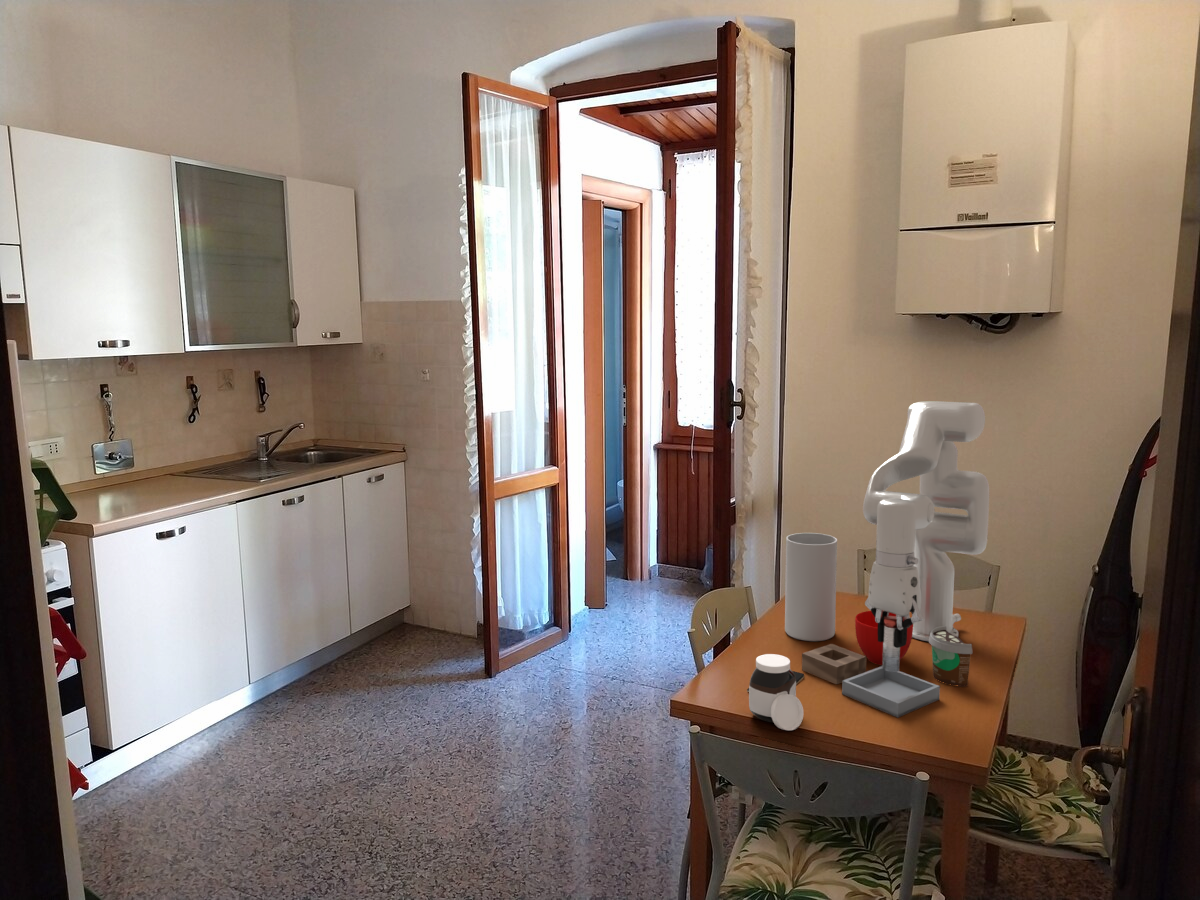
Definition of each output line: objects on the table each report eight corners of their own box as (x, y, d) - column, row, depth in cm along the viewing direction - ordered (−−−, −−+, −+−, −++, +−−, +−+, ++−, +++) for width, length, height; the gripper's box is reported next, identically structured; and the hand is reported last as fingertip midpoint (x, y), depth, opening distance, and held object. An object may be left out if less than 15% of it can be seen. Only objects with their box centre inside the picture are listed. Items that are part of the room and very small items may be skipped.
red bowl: (929, 655, 204) (930, 614, 203) (895, 675, 193) (897, 633, 191) (878, 641, 213) (879, 603, 212) (843, 660, 202) (844, 619, 200)
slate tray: (883, 678, 191) (883, 665, 191) (939, 699, 180) (939, 686, 180) (842, 694, 183) (842, 680, 183) (897, 717, 172) (898, 703, 172)
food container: (917, 668, 197) (919, 626, 195) (943, 666, 197) (945, 625, 196) (943, 690, 184) (945, 646, 183) (970, 689, 185) (972, 644, 183)
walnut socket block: (831, 659, 202) (831, 643, 202) (865, 673, 194) (866, 656, 193) (801, 670, 197) (802, 653, 196) (836, 684, 188) (836, 667, 188)
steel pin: (889, 664, 183) (890, 614, 181) (902, 669, 180) (904, 619, 179) (878, 668, 181) (880, 618, 180) (892, 673, 178) (894, 622, 177)
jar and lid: (767, 701, 181) (768, 648, 179) (817, 716, 174) (818, 661, 172) (738, 721, 172) (738, 666, 170) (789, 738, 164) (790, 680, 163)
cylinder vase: (784, 640, 215) (785, 543, 212) (785, 623, 227) (786, 531, 224) (835, 644, 212) (837, 545, 209) (834, 626, 224) (836, 533, 221)
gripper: (941, 564, 173) (937, 651, 175) (873, 547, 186) (870, 629, 189) (918, 570, 169) (915, 659, 171) (850, 553, 182) (848, 636, 184)
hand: (891, 642), depth 180 cm, fingers closed on steel pin, 3 cm apart
